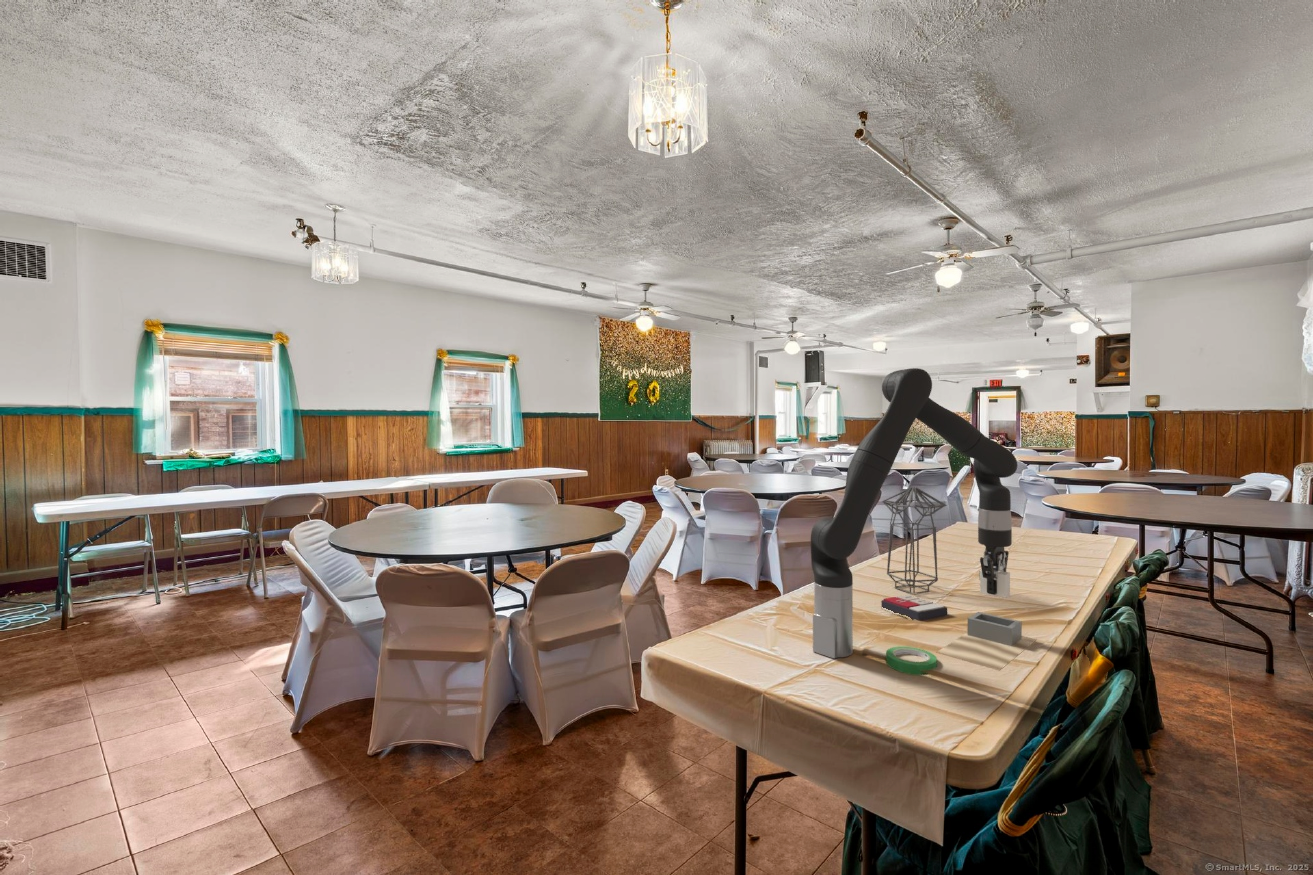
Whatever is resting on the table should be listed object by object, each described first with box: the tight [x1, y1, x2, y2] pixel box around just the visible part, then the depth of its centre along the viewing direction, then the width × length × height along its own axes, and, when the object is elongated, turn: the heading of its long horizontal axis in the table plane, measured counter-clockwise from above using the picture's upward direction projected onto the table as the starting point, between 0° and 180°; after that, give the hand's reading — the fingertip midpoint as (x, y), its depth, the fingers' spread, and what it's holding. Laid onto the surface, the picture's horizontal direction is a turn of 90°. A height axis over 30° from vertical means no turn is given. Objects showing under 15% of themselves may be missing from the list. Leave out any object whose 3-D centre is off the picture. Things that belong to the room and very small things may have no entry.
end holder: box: [966, 611, 1023, 646], centre depth 151 cm, size 7×10×4 cm
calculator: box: [880, 594, 948, 622], centre depth 173 cm, size 11×4×15 cm
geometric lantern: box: [881, 486, 947, 594], centre depth 196 cm, size 16×16×35 cm
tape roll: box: [885, 646, 938, 676], centre depth 137 cm, size 11×11×3 cm
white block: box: [978, 569, 1011, 599], centre depth 151 cm, size 3×6×6 cm, turn 41°
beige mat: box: [935, 632, 1037, 672], centre depth 145 cm, size 27×14×1 cm, turn 131°
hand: (994, 591), depth 151 cm, fingers closed on white block, 3 cm apart
